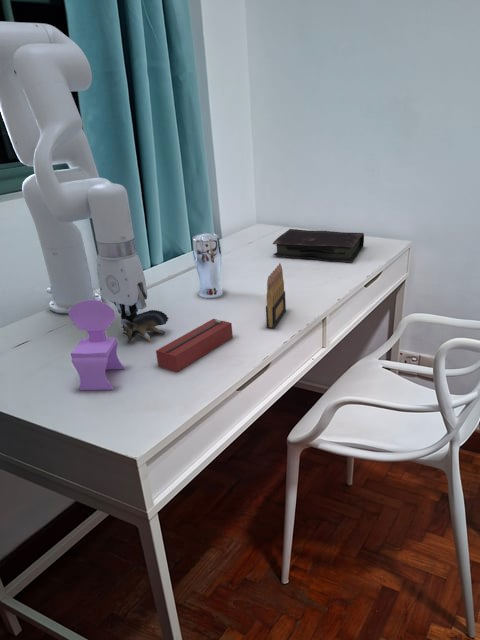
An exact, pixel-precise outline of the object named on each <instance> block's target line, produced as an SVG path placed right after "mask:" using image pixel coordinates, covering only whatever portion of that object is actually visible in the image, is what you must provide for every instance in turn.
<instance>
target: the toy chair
mask: <svg viewBox="0 0 480 640" xmlns="http://www.w3.org/2000/svg"><path fill="white" fill-rule="evenodd" d="M68 316H69V319H70V320H71V322H72V323H73V324H74V326H75V327H76V328H77V329H79V330H82V331H85V332H86V333H87V335H88V337H82V338H81V339H80V341H79V342H78V344H77V345H76V346H75V347H74V348H73V349H72V351H71V352H70V356H71V357H70V358H71V363H72V366H73V367H74V369H75V370H76V372H77V374H78V376H79V389H78V390H79V391H103V390H104V391H105V390H114V389H115V387H114V385H112V384H111V382H109V380H108V379H107V376H106V370H125V369H126V366H125V365H124V364H123V363H122V361H120V359H119V357H118V346H119V342H118V340H117V337H107V335H106V329H108V328H110V327H111V325H112V324H113V322H114V321H115V319H116V312H115V310H114V309H113V307H111V306H110V305H109V304H107V303H105V302H103V301H102V302H101V301H99V300H95V299H90V300H85V301H82V302H79V303H77V304H76V305H74V306H73V307H72V308H71V309H70V311H69V313H68Z"/></svg>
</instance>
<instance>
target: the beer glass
mask: <svg viewBox="0 0 480 640" xmlns="http://www.w3.org/2000/svg"><path fill="white" fill-rule="evenodd" d="M191 238H192V255H193V261H194V266H195V269H196V272H197V275H198V279H199V296H200V298H203V299H216V298H219V297H221V296H223V295H224V291H223V287H222V283H221V271H222V247H221V241H220V236H219V235H218V234H217V233H208V232H207V233H199V234H196V235H193V236H192V237H191Z"/></svg>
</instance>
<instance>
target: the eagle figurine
mask: <svg viewBox="0 0 480 640" xmlns="http://www.w3.org/2000/svg"><path fill="white" fill-rule="evenodd" d="M168 321H169V317H168V316H167V314H166V313H165V312H164V311H160V310H158V309H150V310H148V311H143V312H141V313H137V315H136V317H135V318H134V320H133V322H130V321H128V320H126V319H122V320H121V319H120V320H119V323H120V324H121V325H122V326H120V328H122V329H123V328H124V329H125V331H123V332H122V335H125V336H126V337H127V344H130V343H131V342H132V341H133V339H134V338H135V336H136V335H139V336H141V337H142V338H145V339H146V340H147V341H148V343H151V337H150V335H149V334H148V333H147V332H153V333H158V334H163V335H165V334H166V333H167V332H166V331H165V330H162V329H160V328H158V326H163V325H166V324H167V322H168ZM123 326H125V327H123ZM130 328H131V329H130Z"/></svg>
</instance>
